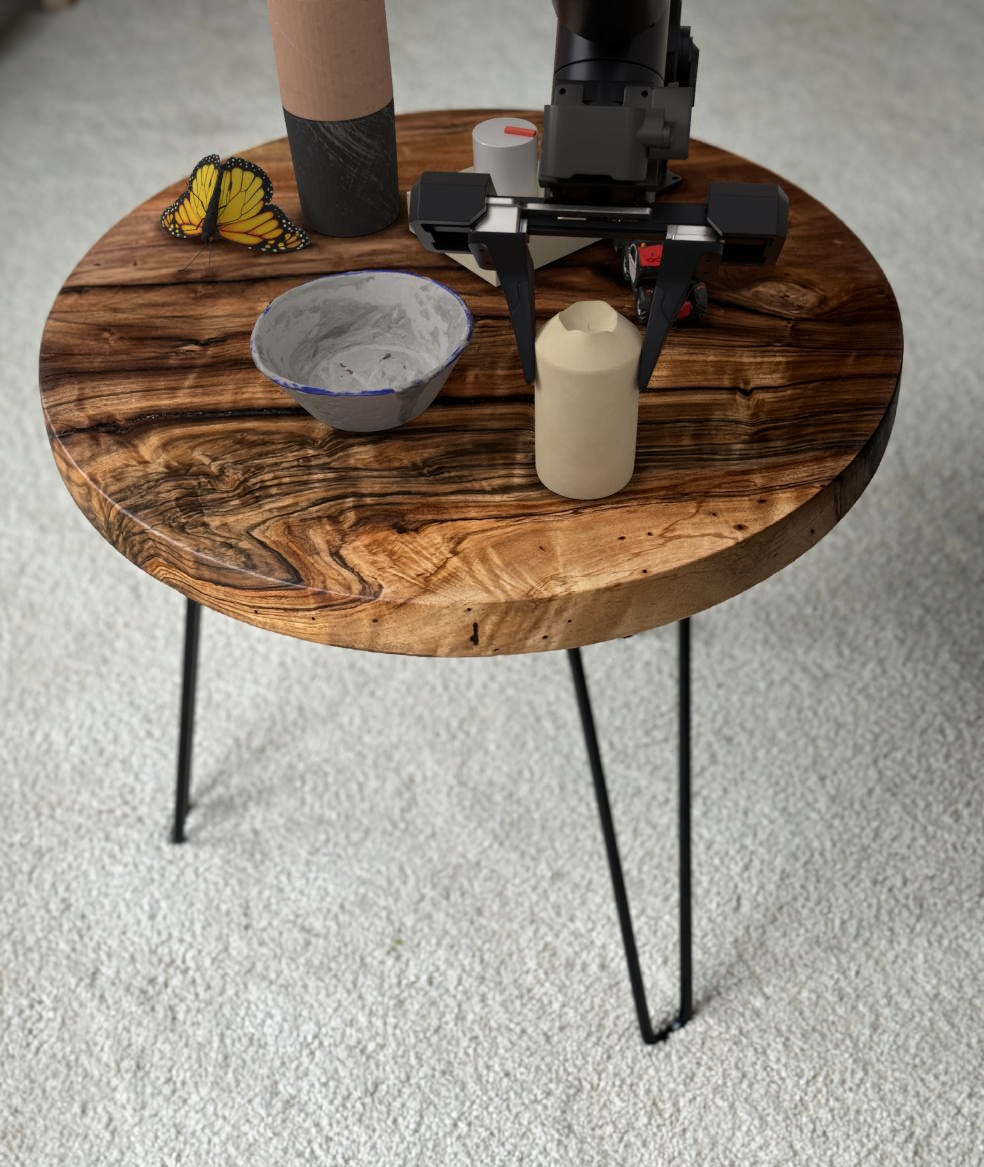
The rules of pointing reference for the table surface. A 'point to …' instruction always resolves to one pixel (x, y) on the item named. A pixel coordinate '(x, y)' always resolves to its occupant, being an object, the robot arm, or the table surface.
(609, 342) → the candle
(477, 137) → the tap knob
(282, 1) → the travel mug
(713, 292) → the table surface
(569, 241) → the plate
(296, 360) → the bowl
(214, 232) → the butterfly
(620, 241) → the loader
